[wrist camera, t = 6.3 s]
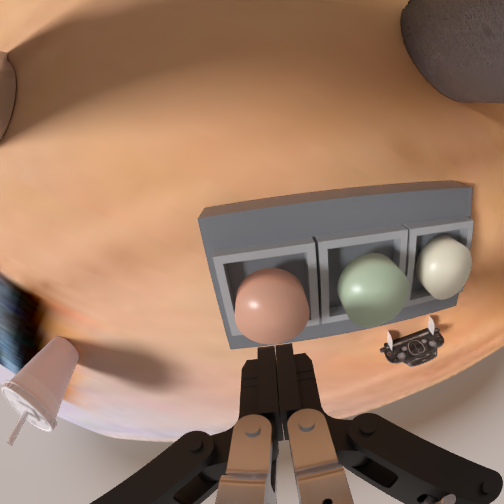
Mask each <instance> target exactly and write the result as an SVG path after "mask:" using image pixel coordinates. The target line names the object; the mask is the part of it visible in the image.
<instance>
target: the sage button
mask: <svg viewBox="0 0 504 504" xmlns="http://www.w3.org/2000/svg"><path fill="white" fill-rule="evenodd" d="M337 291H338V296H339V298H340V301H341V303H342V305H343V307H344V309H345V311H346V313H347V316H348V317H349V319H350V320H351V321H352V322H353V323H354V324H356V325H358V326H361V327H376V326H380V325H382V324H385V323H387V322H388V321H390V320H391V319H393V318H394V317H395V316H396V315H397V314H398V313H399V312H400V311H401V310H402V308H403V307H404V305H405V303H406V301H407V298H408V295H409V282H408V279H407V277H406V275H405V274H404V273H403V272H402V271H401V270H400V269H399V268H398V267H397V265H396V264H395V263H394V262H393V261H392V260H391V259H390V258H388V257H387V256H385V255H383V254H380V253H367V254H364V255H361V256H359V257H357V258H355V259H354V260H352V261H351V262H350V263H349V264H348V265H347V266H346V267H345V268H344V270H343V271H342V273H341V275H340V277H339V280H338V285H337Z"/></svg>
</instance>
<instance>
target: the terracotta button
mask: <svg viewBox="0 0 504 504" xmlns="http://www.w3.org/2000/svg"><path fill="white" fill-rule="evenodd" d="M308 320H309V306H308V302H307V299H306V296H305V292H304V289H303V286H302V284H301V282H300V281H299V280H298V278H297V277H296V276H294V275H293V274H291V273H290V272H288V271H285V270H282V269H278V268H265V269H261V270H258V271H255V272H253V273H251V274H250V275H248V276H247V277H246V278H245V279H244V280H243V281H242V282H241V284H240V286H239V288H238V290H237V295H236V304H235V322H236V325H237V327H238V329H239V330H240V332H241V333H242V334H243V335H244V336H246V337H247V338H249V339H250V340H252V341H255V342H257V343H261V344H279V343H283V342H286V341H289V340H291V339H293V338H294V337H296V336H297V335H298V334H300V333H301V332H302V331H303V329H304V328H305V326H306V325H307V322H308Z"/></svg>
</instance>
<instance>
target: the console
mask: <svg viewBox="0 0 504 504" xmlns="http://www.w3.org/2000/svg"><path fill="white" fill-rule="evenodd" d="M472 189H473V187H470V186H467V185H465V184H462V183H459V182H456V181H433V182H416V183H401V184H388V185H376V186H365V187H355V188H345V189H335V190H326V191H318V192H309V193H301V194H294V195H286V196H279V197H271V198H264V199H258V200H251V201H244V202H238V203H232V204H226V205H219V206H214V207H208V208H204V210H203V211H202V213H201V214H200V216H199V217H198V222H199V227H200V231H201V236H202V240H203V244H204V249H205V253H206V257H207V261H208V265H209V269H210V274H211V278H212V282H213V286H214V290H215V293H216V297H217V301H218V305H219V309H220V313H221V316H222V320H223V324H224V328H225V331H226V335H227V338H228V342H229V346H230V349H240V348H250V347H259V346H267V345H275V344H261V343H257V342H255V341H252V340H250V339H249V338H247V337H246V336H244V335H243V334H242V333H241V332H240V330H239V329H238V327H237V325H236V322H235V304H236V295H237V290H238V288H239V286H240V284H241V282H242V281H243V280H244V279H245V278H246V277H247V276H248V275H250V274H251V273H253V272H255V271H258V270H261V269H265V268H278V269H282V270H285V271H288V272H290V273H291V274H293V275H294V276H296V277H297V278H298V280H299V281H300V282H301V284H302V286H303V289H304V292H305V296H306V299H307V302H308V306H309V320H308V322H307V325H306V326H305V328H304V329H303V331H302V332H301V333H300V334H298V335H297V336H296V337H294V338H293V339H291V340H289V341H286V342H283V343H290V342H297V341H304V340H310V339H316V338H322V337H328V336H334V335H339V334H344V333H349V332H354V331H359V330H364V329H369V328H373V327H361V326H358V325H356V324H354V323H353V322H352V321H351V320H350V319H349V317H348V316H347V313H346V311H345V309H344V307H343V305H342V303H341V301H340V298H339V296H338V291H337V285H338V280H339V277H340V275H341V273H342V271H343V270H344V268H345V267H346V266H347V265H348V264H349V263H350V262H351V261H352V260H354V259H355V258H357V257H359V256H361V255H364V254H367V253H380V254H383V255H385V256H387V257H388V258H390V259H391V260H392V261H393V262H394V263H395V264H396V265H397V267H398V268H399V269H400V270H401V271H402V272H403V273H404V274H405V275H406V277H407V279H408V282H409V295H408V298H407V301H406V303H405V305H404V307H403V308H402V310H401V311H400V312H399V313H398V314H397V315H396V316H395V317H394V318H393V319H391V320H390V321H388V322H387V323H385V324H382V325H387V324H391V323H395V322H399V321H403V320H407V319H411V318H415V317H418V316H422V315H426V314H429V313H433V312H436V311H440V310H443V309H446V308H450V307H453V306H456V303H457V299H458V295H459V293H460V292H462V291H463V287H462V289H461V290H460V291H459V292H458V293H456V294H455V295H454V296H452V297H450V298H448V299H444V300H439V299H436V298H434V297H433V296H432V295H431V294H430V293H429V292H428V291H427V290H426V289H425V288H424V286H423V285H422V284H421V283H420V282H419V281H418V279H417V276H416V262H417V258H418V256H419V254H420V252H421V250H422V248H423V247H424V246H425V245H426V243H427V242H428V241H430V240H431V239H432V238H434V237H436V236H439V235H448V236H450V237H452V238H453V239H455V240H456V241H458V242H459V243H461V244H462V245H464V246H465V247H467V248H468V250H469V251H470V248H471V241H472V233H473V224H474V220H472V219H471V209H472ZM382 325H380V326H382ZM376 327H378V326H376ZM283 343H279V344H283Z"/></svg>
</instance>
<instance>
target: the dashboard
mask: <svg viewBox="0 0 504 504" xmlns="http://www.w3.org/2000/svg"><path fill="white" fill-rule="evenodd" d="M439 331H440V329H439V328H435V324H434V321H433V319H432V318H431V317H430V316H429V322H428V328H426V329H423V330H421V331H418V332H415V333H413V334H410V335H407V336H405V337H402V338H399V339H396V340H392V336H391V334H390V332H389V331H388V338H387V343H384V347H383V348H381V349H380V352H382V353H383V352H384V354H385V356H386V358H387V360H388V361H389V362H390V363H393V364H398V363H401V362H403V363H405V364H407V365H408V366H410V367H413V366H417V365H421V364H423V363H426V362H428V361H430V360H432V359H434V358H435V357H436V356H437V348H439V347H441V346H442V345H443V344H444V338H443V336H442V335H441V334H440V333H439Z"/></svg>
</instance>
